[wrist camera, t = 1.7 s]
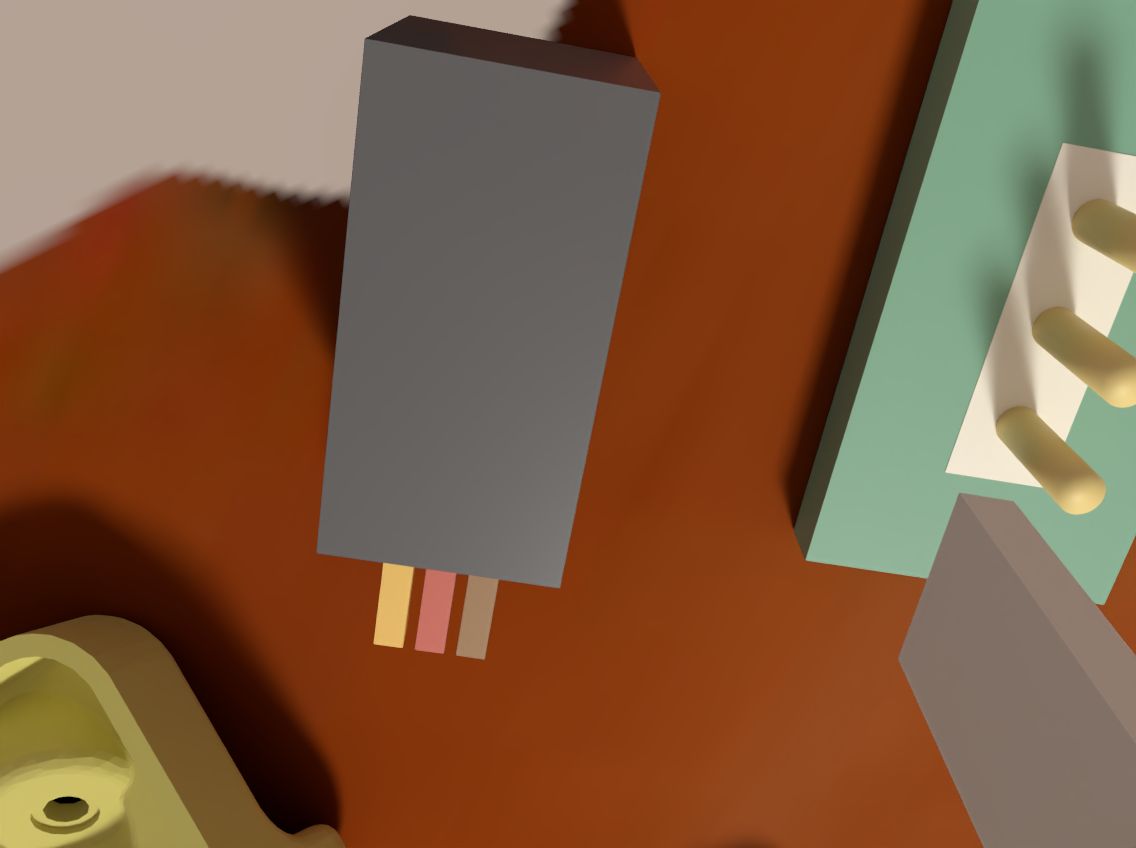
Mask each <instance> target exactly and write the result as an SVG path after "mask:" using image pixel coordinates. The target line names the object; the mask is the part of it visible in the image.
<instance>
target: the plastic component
mask: <svg viewBox="0 0 1136 848" xmlns="http://www.w3.org/2000/svg"><path fill="white" fill-rule="evenodd" d="M67 796H72V797H78V798H81V799H83V800H81V801H79V802H76V803H70V804H59V803H57V802H54V801H51V800H54V799H56V798H59V797H67ZM0 848H346V846H345V844H344V843H343V841H342V839H341V838H340V836H339V834H338V832H337V831H336V830H335V829H333V828H332V827H330V826H328V825H323V824H321V825H314V826H311V827H308V828H306V829H304V830H302V831H300V832H298V833H296V834H293V835H291V834H288V833H286V832H284V831H282V830H281V829H279V828H277V827H276V826H275V825H274V824H273V823H272V822H271V821H270V820H269V819H268V817H267V816H266V815H265V813H264V812H263V811H262V809H261V808H260V806H259V805H258V803H257V801H256V799H255V798H254V796H253V794H252V793H251V791H250V789H249V787H248V786H247V784H246V782H245V781H244V779H243V777H242V775H241V774H240V772H239V770H238V769H237V767H236V765H235V763H234V762H233V760H232V758H231V756H230V755H229V753H228V751H227V750H226V748H225V746H224V744H223V743H222V741H221V739H220V738H219V736H218V734H217V732H216V731H215V729H214V727H213V726H212V724H211V722H210V720H209V719H208V717H207V715H206V713H205V712H204V710H203V708H202V707H201V705H200V703H199V701H198V700H197V698H196V696H195V695H194V693H193V691H192V689H191V688H190V686H189V684H188V682H187V681H186V679H185V677H184V676H183V674H182V672H181V670H180V669H179V667H178V665H177V664H176V662H175V660H174V658H173V657H172V655H171V654H170V652H169V651H168V650H167V649H166V647H165V646H164V645H163V644H162V642H161V641H159V640H158V639H157V638H156V637H155V636H154V635H152V634H151V633H150V632H149V631H148V630H146V629H145V628H143V627H141V626H140V625H138V624H135V623H133V622H131V621H128V620H126V619H123V618H119V617H114V616H106V615H89V616H84V617H79V618H75V619H72V620H68V621H65V622H61V623H58V624H54V625H51V626H47V627H44V628H40V629H37V630H33V631H30V632H26V633H23V634H19V635H16V636H13V637H10V638H8V639H5V640H2V641H0Z"/></svg>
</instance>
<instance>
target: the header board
mask: <svg viewBox="0 0 1136 848" xmlns="http://www.w3.org/2000/svg"><path fill="white" fill-rule="evenodd" d="M959 492H960V493H966V494H972V495H978V496H985V497H991V498H997V499H1003V500H1009V501H1014V502H1015V503H1016V505H1017V506H1018V507H1019V508H1020V510H1021V511H1022V512H1023V513H1024V515H1025V516H1026V517H1027V519H1028V520H1029V521H1030V522H1031V524H1032V525H1033V526H1034V527H1035V529H1036V530H1037V531H1038V532H1039V534H1040V535H1041V536H1042V538H1043V539H1044V540H1045V541H1046V543H1047V544H1048V545H1049V546H1050V548H1051V549H1052V550H1053V552H1054V553H1055V554H1056V555H1057V557H1058V558H1059V559H1060V560H1061V562H1062V563H1063V564H1064V565H1065V567H1066V568H1067V569H1068V571H1069V572H1070V573H1071V574H1072V576H1073V577H1074V578H1075V579H1076V581H1077V582H1078V583H1079V585H1080V586H1081V587H1082V588H1083V590H1084V591H1085V592H1086V593H1087V595H1088V596H1089V597H1090V599H1091V600H1092V601H1093V602H1094V603H1095V604H1101V605H1104V604H1105V602H1106V599H1107V597H1108V595H1109V593H1110V591H1111V588H1112V586H1113V584H1114V582H1115V579H1116V577H1117V575H1118V573H1119V571H1120V568H1121V566H1122V564H1123V562H1124V559H1125V557H1126V555H1127V553H1128V551H1129V548H1130V546H1131V544H1132V542H1133V539H1134V537H1135V535H1136V0H953V2H952V6H951V9H950V12H949V15H948V19H947V22H946V25H945V29H944V32H943V35H942V39H941V42H940V45H939V49H938V52H937V55H936V59H935V62H934V65H933V69H932V72H931V75H930V79H929V82H928V85H927V89H926V92H925V95H924V99H923V102H922V105H921V109H920V112H919V115H918V119H917V122H916V125H915V129H914V132H913V135H912V138H911V142H910V145H909V148H908V152H907V155H906V158H905V162H904V165H903V168H902V172H901V175H900V178H899V182H898V185H897V188H896V192H895V195H894V198H893V202H892V205H891V208H890V212H889V215H888V218H887V222H886V225H885V228H884V232H883V235H882V238H881V242H880V245H879V248H878V251H877V255H876V258H875V261H874V265H873V268H872V271H871V275H870V278H869V281H868V285H867V288H866V291H865V295H864V298H863V301H862V305H861V308H860V311H859V315H858V318H857V321H856V325H855V328H854V331H853V335H852V338H851V341H850V345H849V348H848V351H847V355H846V358H845V361H844V364H843V368H842V371H841V374H840V378H839V381H838V384H837V388H836V391H835V394H834V398H833V401H832V404H831V408H830V411H829V414H828V418H827V421H826V424H825V428H824V431H823V434H822V438H821V441H820V444H819V448H818V451H817V454H816V458H815V461H814V464H813V468H812V471H811V474H810V477H809V481H808V484H807V487H806V491H805V494H804V497H803V501H802V504H801V507H800V511H799V514H798V517H797V521H796V524H795V527H794V533H795V536H796V538H797V541H798V543H799V545H800V548H801V550H802V553H803V555H804V558H805V560H807V561H814V562H820V563H827V564H834V565H840V566H847V567H854V568H861V569H867V570H874V571H881V572H887V573H894V574H901V575H907V576H914V577H921V578H927V579H928V576H929V573H930V571H931V568H932V565H933V562H934V560H935V557H936V554H937V552H938V549H939V546H940V543H941V541H942V538H943V535H944V533H945V530H946V527H947V524H948V522H949V519H950V516H951V514H952V511H953V508H954V505H955V503H956V500H957V497H958V495H959Z"/></svg>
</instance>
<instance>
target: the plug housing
mask: <svg viewBox="0 0 1136 848" xmlns="http://www.w3.org/2000/svg"><path fill="white" fill-rule="evenodd" d="M660 94H661V92H660V91H659V89H658V88H657V87H656V85H655V84H654V82H653V81H652V79H651V78H650V76H649V75H648V73H647V72H646V70H645V69H644V68H643V66H642V65H641V63H640V62H639V60H638V59H637V57H632V56H626V55H621V54H616V53H610V52H605V51H599V50H594V49H589V48H583V47H578V46H572V45H567V44H562V43H556V42H551V41H546V40H540V39H535V38H529V37H524V36H519V35H513V34H508V33H502V32H497V31H492V30H486V29H481V28H476V27H470V26H465V25H459V24H454V23H448V22H443V21H438V20H432V19H427V18H422V17H416V16H411V15H410V16H408V17H406V18H404V19H402V20H400V21H398V22H396V23H394V24H392V25H390V26H388V27H386V28H384V29H382V30H381V31H379V32H377V33H375V34H373V35H371V36H369V37H367V38H365V43H364V54H363V65H362V75H361V86H360V96H359V107H358V118H357V128H356V139H355V150H354V161H353V171H352V182H351V192H350V203H349V213H348V224H347V235H346V245H345V256H344V267H343V277H342V288H341V299H340V309H339V320H338V330H337V341H336V352H335V362H334V373H333V384H332V394H331V405H330V416H329V426H328V437H327V448H326V458H325V469H324V480H323V490H322V501H321V511H320V522H319V533H318V543H317V553H319V554H326V555H333V556H340V557H347V558H354V559H361V560H368V561H375V562H382V563H384V564H383V572H382V580H381V588H380V596H379V604H378V612H377V620H376V628H375V636H374V644H377V645H384V646H392V647H399V648H403V644H404V639H405V634H406V629H407V622H408V614H409V607H410V600H411V593H412V586H413V578H414V571H415V567H416V568H423V569H426V576H425V583H424V590H423V597H422V604H421V611H420V618H419V625H418V632H417V639H416V646H415V650H420V651H428V652H435V653H442V654H444V649H445V642H446V636H447V629H448V623H449V617H450V610H451V604H452V598H453V591H454V585H455V578H456V573H458V574H465V575H469V576H468V582H467V588H466V594H465V601H464V607H463V613H462V619H461V625H460V631H459V638H458V645H457V652H456V655H457V656H464V657H471V658H478V659H485V654H486V649H487V643H488V637H489V632H490V626H491V620H492V614H493V609H494V603H495V597H496V592H497V586H498V580H506V581H513V582H520V583H527V584H534V585H541V586H548V587H555V588H560V584H561V579H562V574H563V569H564V565H565V560H566V555H567V550H568V545H569V540H570V535H571V530H572V525H573V520H574V516H575V511H576V506H577V501H578V496H579V491H580V486H581V481H582V476H583V471H584V467H585V462H586V457H587V452H588V447H589V442H590V437H591V432H592V427H593V422H594V418H595V413H596V408H597V403H598V398H599V393H600V388H601V383H602V378H603V373H604V369H605V364H606V359H607V354H608V349H609V344H610V339H611V334H612V329H613V324H614V320H615V315H616V310H617V305H618V300H619V295H620V290H621V285H622V280H623V275H624V271H625V266H626V261H627V256H628V251H629V246H630V241H631V236H632V231H633V226H634V221H635V217H636V212H637V207H638V202H639V197H640V192H641V187H642V182H643V177H644V172H645V168H646V163H647V158H648V153H649V148H650V143H651V138H652V133H653V128H654V123H655V119H656V114H657V109H658V104H659V99H660Z"/></svg>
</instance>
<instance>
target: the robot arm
mask: <svg viewBox="0 0 1136 848" xmlns="http://www.w3.org/2000/svg"><path fill="white" fill-rule="evenodd" d="M898 660H899V662H900V664H901V667H902V669H903V671H904V673H905V675H906V678H907V680H908V682H909V684H910V686H911V689H912V691H913V693H914V695H915V697H916V700H917V702H918V704H919V706H920V708H921V711H922V713H923V715H924V717H925V719H926V722H927V724H928V726H929V728H930V730H931V733H932V735H933V737H934V739H935V741H936V744H937V746H938V748H939V750H940V752H941V755H942V757H943V759H944V761H945V763H946V766H947V768H948V770H949V772H950V774H951V777H952V779H953V781H954V783H955V785H956V788H957V790H958V792H959V794H960V796H961V799H962V801H963V803H964V805H965V807H966V810H967V812H968V814H969V816H970V818H971V821H972V823H973V825H974V827H975V829H976V832H977V834H978V836H979V838H980V840H981V843H982V845H983V847H984V848H1136V656H1135V654H1134V653H1133V652H1132V651H1131V649H1130V648H1129V647H1128V645H1127V644H1126V643H1125V642H1124V640H1123V639H1122V638H1121V637H1120V635H1119V634H1118V633H1117V632H1116V630H1115V629H1114V628H1113V626H1112V625H1111V624H1110V623H1109V621H1108V620H1107V619H1106V618H1105V616H1104V615H1103V614H1102V612H1101V611H1100V610H1099V609H1098V607H1097V606H1096V605H1095V604H1094V602H1093V601H1092V600H1091V599H1090V597H1089V596H1088V595H1087V593H1086V592H1085V591H1084V590H1083V588H1082V587H1081V586H1080V585H1079V583H1078V582H1077V581H1076V579H1075V578H1074V577H1073V576H1072V574H1071V573H1070V572H1069V571H1068V569H1067V568H1066V567H1065V565H1064V564H1063V563H1062V562H1061V560H1060V559H1059V558H1058V557H1057V555H1056V554H1055V553H1054V552H1053V550H1052V549H1051V548H1050V546H1049V545H1048V544H1047V543H1046V541H1045V540H1044V539H1043V538H1042V536H1041V535H1040V534H1039V532H1038V531H1037V530H1036V529H1035V527H1034V526H1033V525H1032V524H1031V522H1030V521H1029V520H1028V519H1027V517H1026V516H1025V515H1024V513H1023V512H1022V511H1021V510H1020V508H1019V507H1018V506H1017V505H1016V503H1015V502H1014V501H1009V500H1003V499H997V498H991V497H985V496H978V495H972V494H966V493H960V492H959V495H958V497H957V500H956V503H955V505H954V508H953V511H952V514H951V516H950V519H949V522H948V524H947V527H946V530H945V533H944V535H943V538H942V541H941V543H940V546H939V549H938V552H937V554H936V557H935V560H934V562H933V565H932V568H931V571H930V573H929V576H928V579H927V581H926V584H925V587H924V589H923V592H922V595H921V598H920V600H919V603H918V606H917V608H916V611H915V614H914V617H913V619H912V622H911V625H910V627H909V630H908V633H907V636H906V638H905V641H904V644H903V646H902V649H901V652H900V655H899V657H898Z"/></svg>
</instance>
